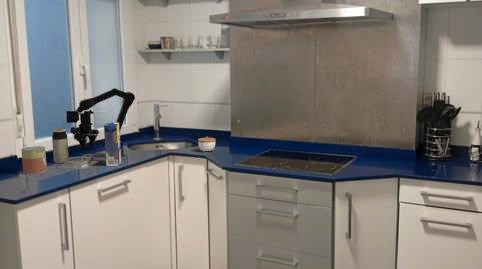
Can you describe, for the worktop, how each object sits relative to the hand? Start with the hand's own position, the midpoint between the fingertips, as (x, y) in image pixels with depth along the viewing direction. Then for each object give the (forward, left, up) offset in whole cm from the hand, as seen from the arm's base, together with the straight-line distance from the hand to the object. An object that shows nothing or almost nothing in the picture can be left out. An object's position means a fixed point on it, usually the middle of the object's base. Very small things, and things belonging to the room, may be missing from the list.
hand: (87, 148), depth 265 cm
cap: (0, 0, -6) cm, 6 cm away
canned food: (+13, +31, -6) cm, 34 cm away
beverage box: (-20, +9, -6) cm, 23 cm away
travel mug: (+12, +8, -6) cm, 16 cm away
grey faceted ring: (-2, +15, -6) cm, 16 cm away
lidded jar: (-63, -31, -6) cm, 70 cm away
